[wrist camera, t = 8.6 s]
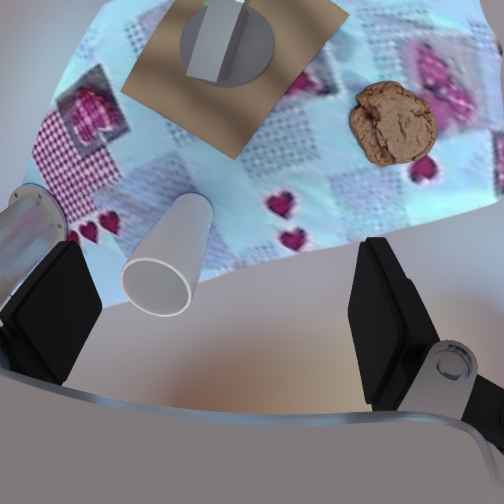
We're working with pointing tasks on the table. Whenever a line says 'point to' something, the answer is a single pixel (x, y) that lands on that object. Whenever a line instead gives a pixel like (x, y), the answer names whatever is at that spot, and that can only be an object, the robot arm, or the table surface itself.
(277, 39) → the wooden board
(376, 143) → the cookie
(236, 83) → the tuning knob
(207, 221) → the drinking glass
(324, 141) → the table surface
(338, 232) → the table surface
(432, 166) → the table surface
